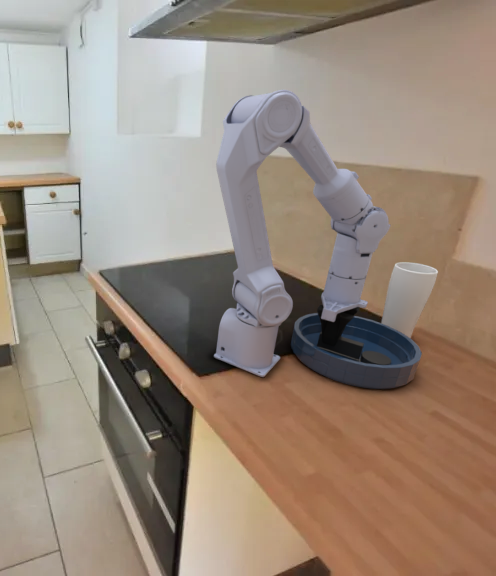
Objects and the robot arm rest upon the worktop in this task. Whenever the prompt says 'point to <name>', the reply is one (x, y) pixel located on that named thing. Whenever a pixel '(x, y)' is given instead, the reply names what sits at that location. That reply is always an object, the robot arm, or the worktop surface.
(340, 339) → the ladle
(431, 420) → the worktop surface
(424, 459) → the worktop surface
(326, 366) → the bowl
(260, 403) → the worktop surface
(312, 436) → the worktop surface
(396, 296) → the drinking glass
